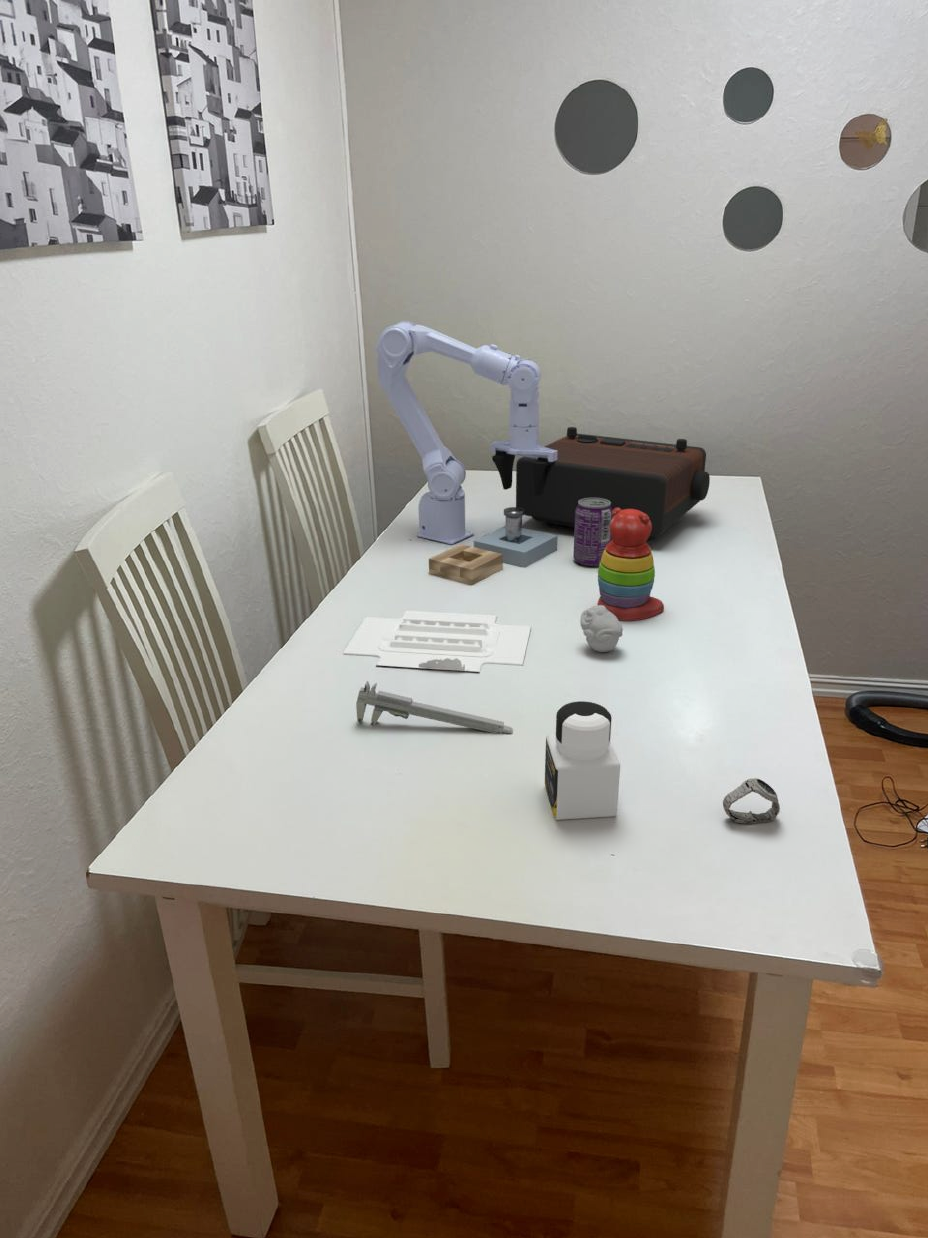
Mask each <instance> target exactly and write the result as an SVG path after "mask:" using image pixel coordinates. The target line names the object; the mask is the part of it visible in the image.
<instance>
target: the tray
mask: <svg viewBox="0 0 928 1238" xmlns="http://www.w3.org/2000/svg"><path fill="white" fill-rule="evenodd" d="M497 619H498V616H497V615H488V614H471V613H453V612H452V613H451V612H437V611H436V612H435V611H434V612H433V611H416V610H415V611H414V610H405V612H404V613H403V615H402V617H400V618H388V617H387V618H386V617H369V616H368V617H366V616H365V618H364V619H363V620H362V622H361V624H360V626H359V627H358V629H357V630H356V632H355V634H354V635H353V637H352V638H351V639H350V641H349V643H348V644H347V646H346V647H345V649H344V651H343V653H342V654H343V655H345V656H356V657H357V656H359V657H360V656H361V657H373V658H378V659H379V660H378V662H377V663H376V665H375V667H376V666H386V667H399V668H415V669H416V668H417V669H428V670H429V669H431V670H445V671H461V672H476V673H477V672H478V673H481V671H482V668H483V666H484V665H502V666H519V667H520V666H521V667H523V665H524V664H523V663H524V661H525V660H524V659H525V656H526V652H527V646H528V642H529V638H530V637H529V636H530V632H531V629H532V626H527V625H513V624H511V625H510V624H498V623H496V622H497ZM482 649H485V651H483V650H482Z"/></svg>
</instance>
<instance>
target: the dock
mask: <svg viewBox="0 0 928 1238" xmlns="http://www.w3.org/2000/svg"><path fill="white" fill-rule="evenodd" d="M505 532H506V525H505V526H502V527H500V528H498V529H496V530H494V531H492V532H490V533H487V534H485V535H483V536H481V537H479V538H476V539H474V540H473V547H475V548H479V549H484V550H488V551H492V552H496V553H500V554H503V564H504V563H506V564H508V565H514V566H518V567H522V568H526V567H528V566H530V565H532V564H534V563H535V562H538V561H540V560H541V559H543V558H545V557H546V556H549V555H550V554H552V553H554V552H555V551H557V550H558V535H556V534H551V533H548V532H543V531H538V530H534V529H528V528H523V527H522V543H521V544H517V543H513V542H508V541H505Z"/></svg>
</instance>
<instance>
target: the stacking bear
mask: <svg viewBox="0 0 928 1238" xmlns="http://www.w3.org/2000/svg"><path fill="white" fill-rule="evenodd" d="M612 516H613V518H612V520H611V523H610V534H611V541H610V542H609V543H608V544H607V546H606V548H605V550H604V552H603V554H602V558H601V562H600V564H599V566H598V570H597V585H598V592H599V598H598V600H597V605H596V606H598V605H603V606H605V607H606V609H607V610H608V611H609V612H611V613H612V614H614V615H615V616H616V617H617V619H618V621H638V620H644V619H648V618H652V617H655V616H656V615H659V614H660V613H662V612H663V611H664V609H665V606H664V603H663V601H662V600H660V598H657V597H654V596H651V592H652V590H653V587H654V583H655V577H656V574H655V573H656V571H655V564H654V563H655V562H654V556H653V552H652V550H651V547H650V545H649V544H648V543H647V541H648V540H647V539H648V537H649V536H650V533H651V530H652V524H651V521H650V520H649V517H648V515H647V514H645V513H643V512H641V511H639V510H635V509H624V510H622V509H620V508H615V509H614V510H613V511H612Z"/></svg>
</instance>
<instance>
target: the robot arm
mask: <svg viewBox="0 0 928 1238" xmlns="http://www.w3.org/2000/svg"><path fill="white" fill-rule="evenodd" d="M375 351H376V354H377V379H378V382H379V384H380V386H381V388H382V390H383V392H384V393H385V395H386V397H387V399H388V400H389V403H390V404H391V406H392V408H393V409H394V412H395V413H396V415H397V417H398V419H399V421H400V422H401V424H402V425H403V428H404V429H405V431H406V433H407V435H408V436H409V438H410V440H411V442H412V444H413V445H414V447H415V450H417V453H418V455H419V456H420V458H421V461H422V469H423V473H424V474H425V477H426V479H427V488H428V490H429V491H427V492H425V493H423V495H422V496H421V497H420V499H419V502H418V530H419V532H418V533H417V534H416V536H417V537H419V538H424V539H428V540H432V541H435V542H440V543H444V544H449V545H454V544H456V543H459V542H460V541H462V540H464V539H467V538H469V537H471V536H474V534H475V532H474V531H470V530H468V529H467V530H466V492H465V491H464V489H463V487H462V484H463V483H464V482H465V481H466V478H467V477H466V476H467V472H466V468H465V466H464V464H463V463H462V462H461V461H459V460H458V459H456V457H455V456H454V455H453V453H452V451H451V450H450V449H449V448H447V447H446V446H445V445H444V444H443V442H442V440H441V438H440V436H439V435H438V432H437V431H436V429H435V427H434V426H433V424H432V421H431V420H430V418H429V416H428V414H427V413H426V411H425V409H424V407H423V405H422V404H421V402H420V400H419V398H418V396H417V394H416V393H415V391H414V389H413V387H412V385H411V383H410V382H409V380H408V378H407V376H406V375H407V371H408V369H409V365H410V361H411V359H412V357H413V356H414V355H415V356H416V355H419V354H424V353H430V352H431V353H432V352H433V353H436V354H438V355H441V356H443V357H444V356H445V357H447V358H450V359H453V360H456V361H459V362H460V363H461V362H462V363H464V364H468V365H469V366H470V367H471V370H472V371H473V373H474V374H475V375H477V376H479V377H482V378H485V379H487V380H490V381H492V382H495V383H497V384H500V385H502V386H506V385H507V386H508V388H509V389H510V400H509V433H508V434H509V435H508V436H509V441H501V440H500V441H498V440H496V441H492V442H491V443H490V452H491V453H494V455H492V456H491V458H492V461H493V463H494V464H495V467H496V469H497V471H498V473H499V476H500V480H501V483H502V484H501V485H502V488H503V489H502V490H506V491H507V490H509V489H511V488H512V487H513V486H512V485H513V470H514V469H513V468H514V463H515V459H516V456H517V457H519V456H520V457H523V456H525V457H531V458H537V459H538V460H537V461H534V462H532V468H533V472H534V492H535V495H536V496H539V495H541V494H543V491H544V487H545V484H546V480H547V478H548V475H549V473H550V471H551V469H552V467H553V466H554V464H555V461H556V460H557V450H553V449H549V448H546V447H544V446H542V445H539V428H540V427H539V424H540V420H539V419H540V417H539V416H540V400H539V395H540V392H539V383H540V380H541V377H542V375H541V369H540V367H539V365H538V364H537V363H536V362H534V361H533V360H531V359H530V358H527V357H526V358H521V355H518V354H515V355H511V354H509V353H506V352H504V351H502V350H500V349H498V345H496V344H493V343H492V344H490V345H486V344H484V345H481V346H479V347H477V348H476V347H473V346H471V345H470V344H467V343H465V342H462V341H460V340H457V339H456V338H453V337H451V336H449V335H446V334H444V333H441V332H439V331H437V330H435V329H433V328H431V327H429V326H428V327H427V326H425V325H423V324H422V325H421V324H415V323H414V322H411V321H407V320H401V321H399V322H396V324H394V325H390V326H387V327H386V328H385V329H384V330H383V331H382V332H381V334H380V336H379V338H378V340H377V344H376V346H375Z"/></svg>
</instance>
